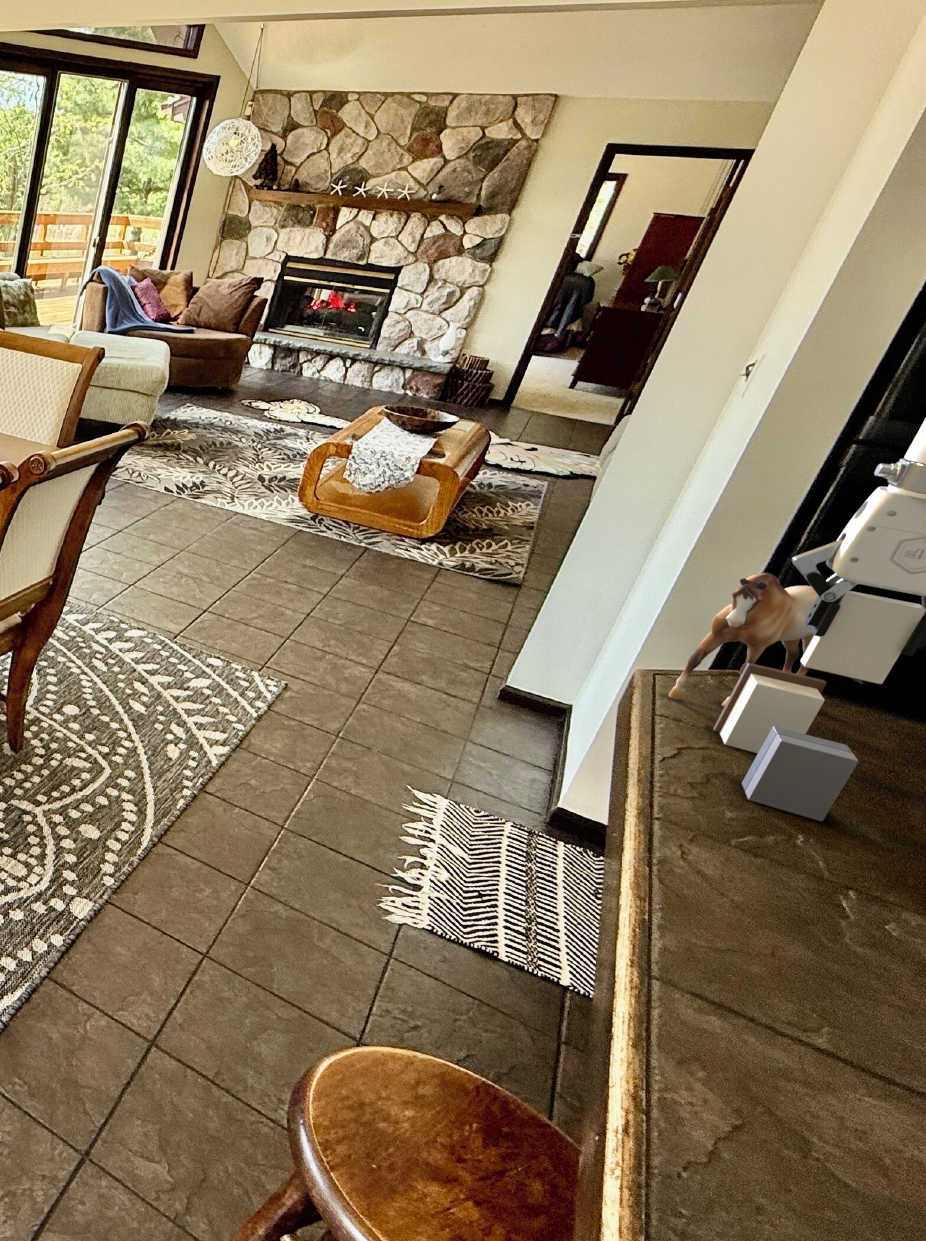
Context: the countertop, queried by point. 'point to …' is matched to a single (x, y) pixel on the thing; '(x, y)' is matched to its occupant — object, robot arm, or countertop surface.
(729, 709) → the white books
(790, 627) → the horse figurine
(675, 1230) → the countertop surface
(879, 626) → the white book
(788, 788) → the grey books
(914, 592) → the robot arm
